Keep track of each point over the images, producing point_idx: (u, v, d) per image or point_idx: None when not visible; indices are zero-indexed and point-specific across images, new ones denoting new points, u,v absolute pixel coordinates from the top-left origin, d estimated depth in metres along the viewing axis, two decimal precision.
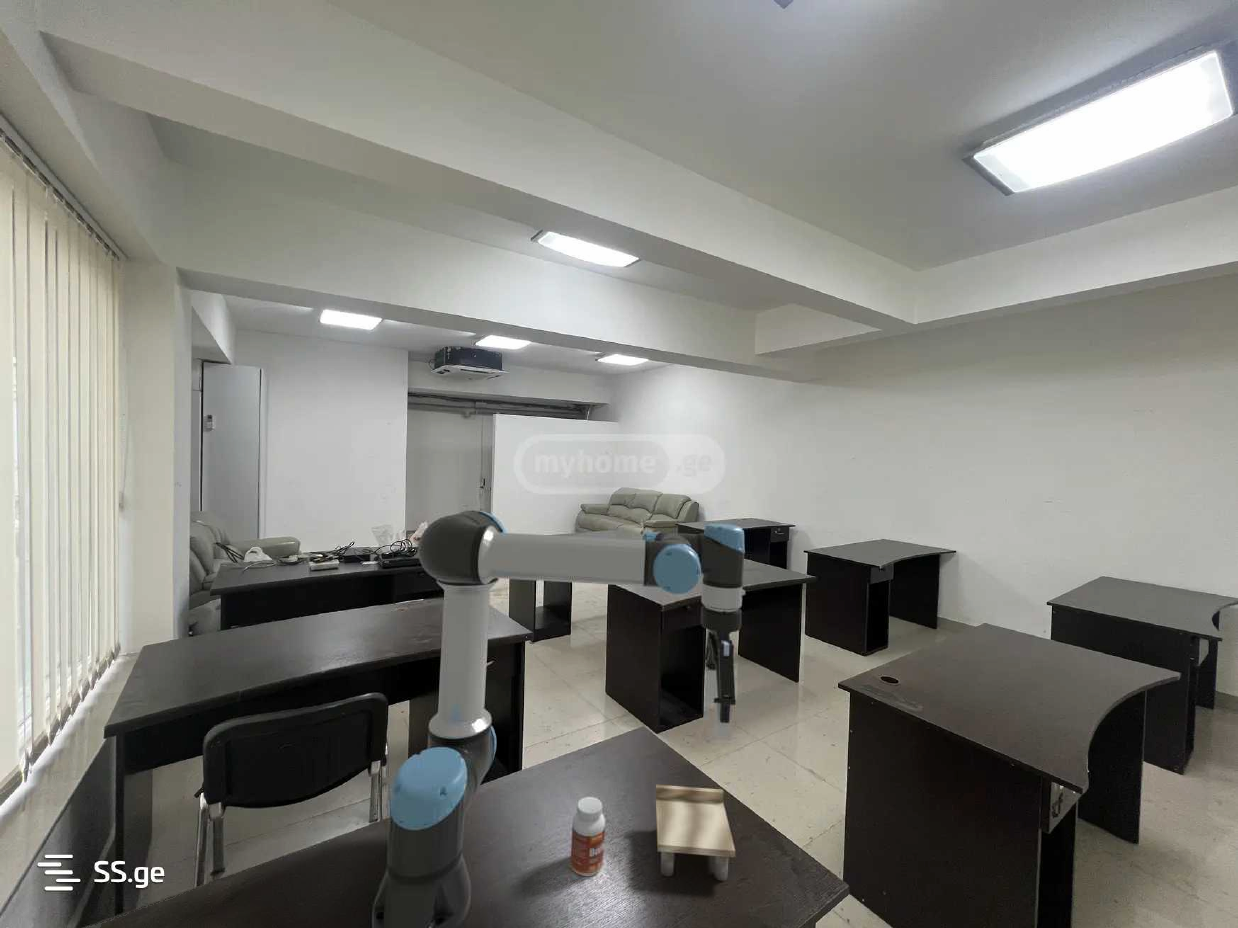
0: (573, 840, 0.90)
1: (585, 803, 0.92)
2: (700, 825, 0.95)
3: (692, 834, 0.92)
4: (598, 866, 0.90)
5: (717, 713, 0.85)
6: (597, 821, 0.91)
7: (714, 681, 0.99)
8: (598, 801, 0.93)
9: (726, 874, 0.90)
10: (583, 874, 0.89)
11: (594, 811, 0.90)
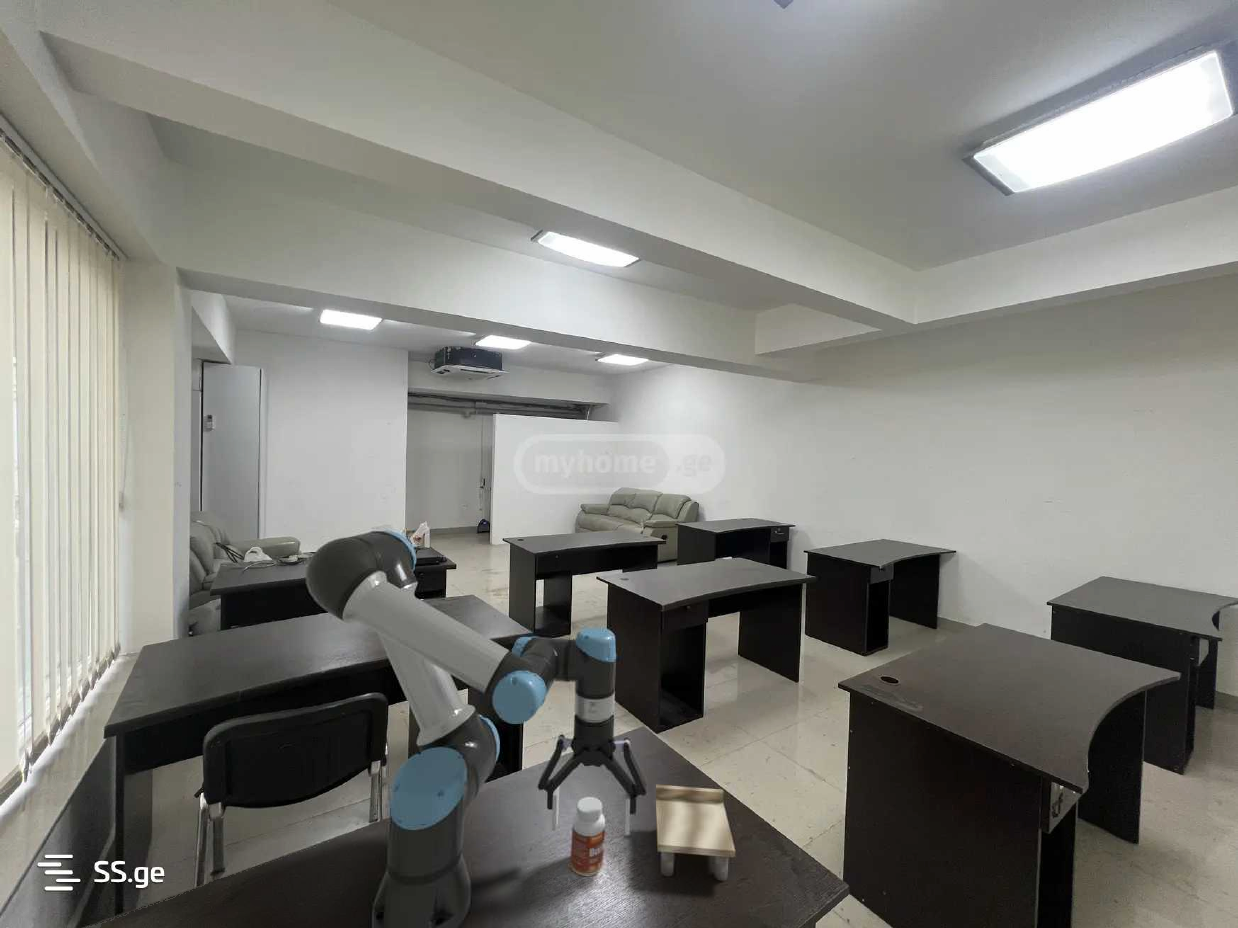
0: (573, 840, 0.90)
1: (585, 803, 0.92)
2: (700, 825, 0.95)
3: (692, 834, 0.92)
4: (598, 866, 0.90)
5: None
6: (597, 821, 0.91)
7: None
8: (598, 801, 0.93)
9: (726, 874, 0.90)
10: (583, 874, 0.89)
11: (594, 811, 0.90)
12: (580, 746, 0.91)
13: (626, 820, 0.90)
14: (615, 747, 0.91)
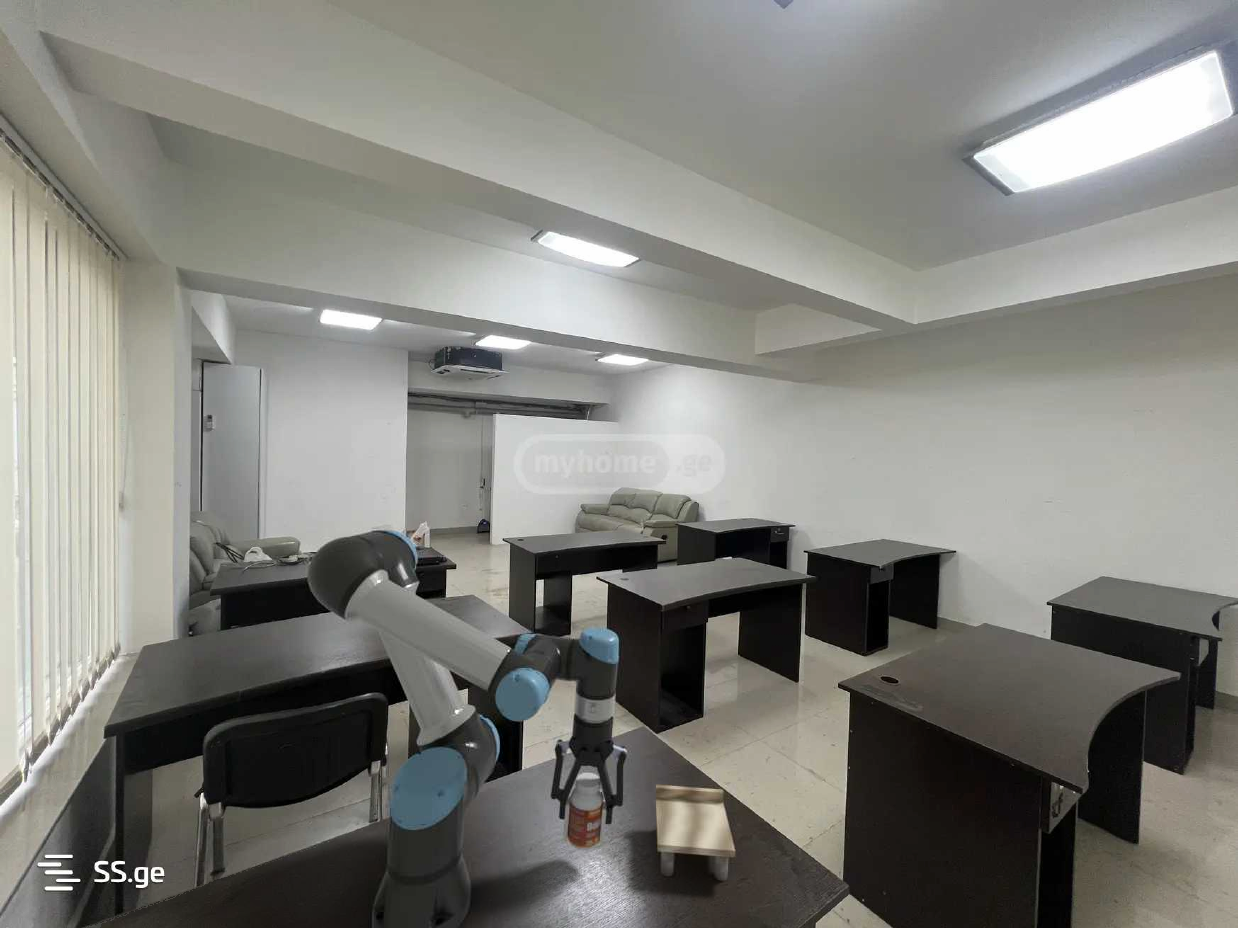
0: (571, 814, 0.90)
1: (583, 778, 0.92)
2: (700, 825, 0.95)
3: (692, 834, 0.92)
4: (596, 841, 0.90)
5: None
6: (595, 796, 0.91)
7: None
8: (597, 777, 0.93)
9: (726, 874, 0.90)
10: (580, 848, 0.89)
11: (593, 786, 0.90)
12: (578, 744, 0.91)
13: (601, 830, 0.90)
14: (612, 751, 0.91)
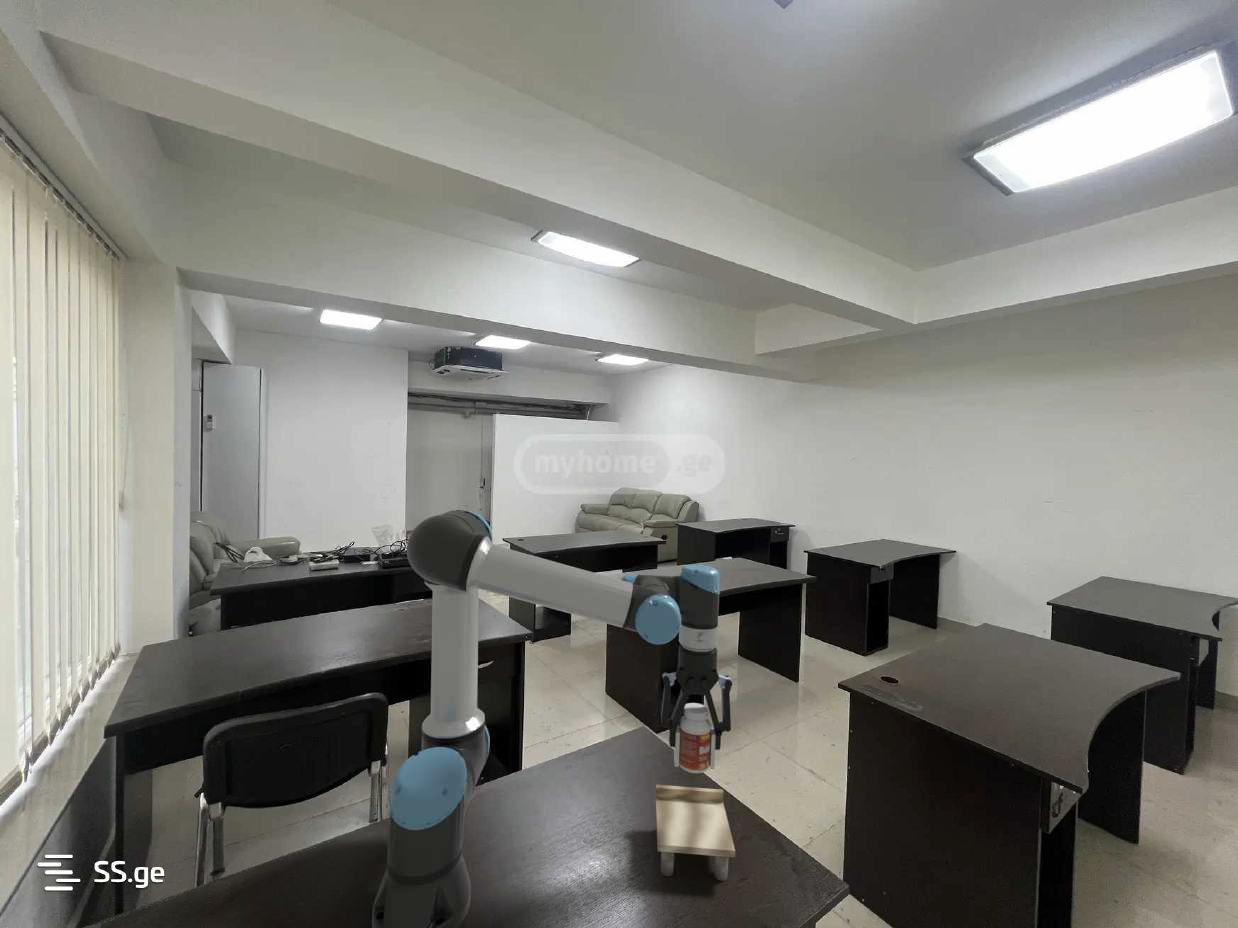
0: (682, 740, 0.95)
1: (691, 707, 0.96)
2: (700, 825, 0.95)
3: (692, 834, 0.92)
4: (707, 764, 0.94)
5: None
6: (704, 722, 0.95)
7: (710, 743, 0.96)
8: (702, 706, 0.97)
9: (726, 874, 0.90)
10: (694, 771, 0.93)
11: (702, 712, 0.94)
12: (685, 674, 0.95)
13: (711, 755, 0.94)
14: (718, 679, 0.95)
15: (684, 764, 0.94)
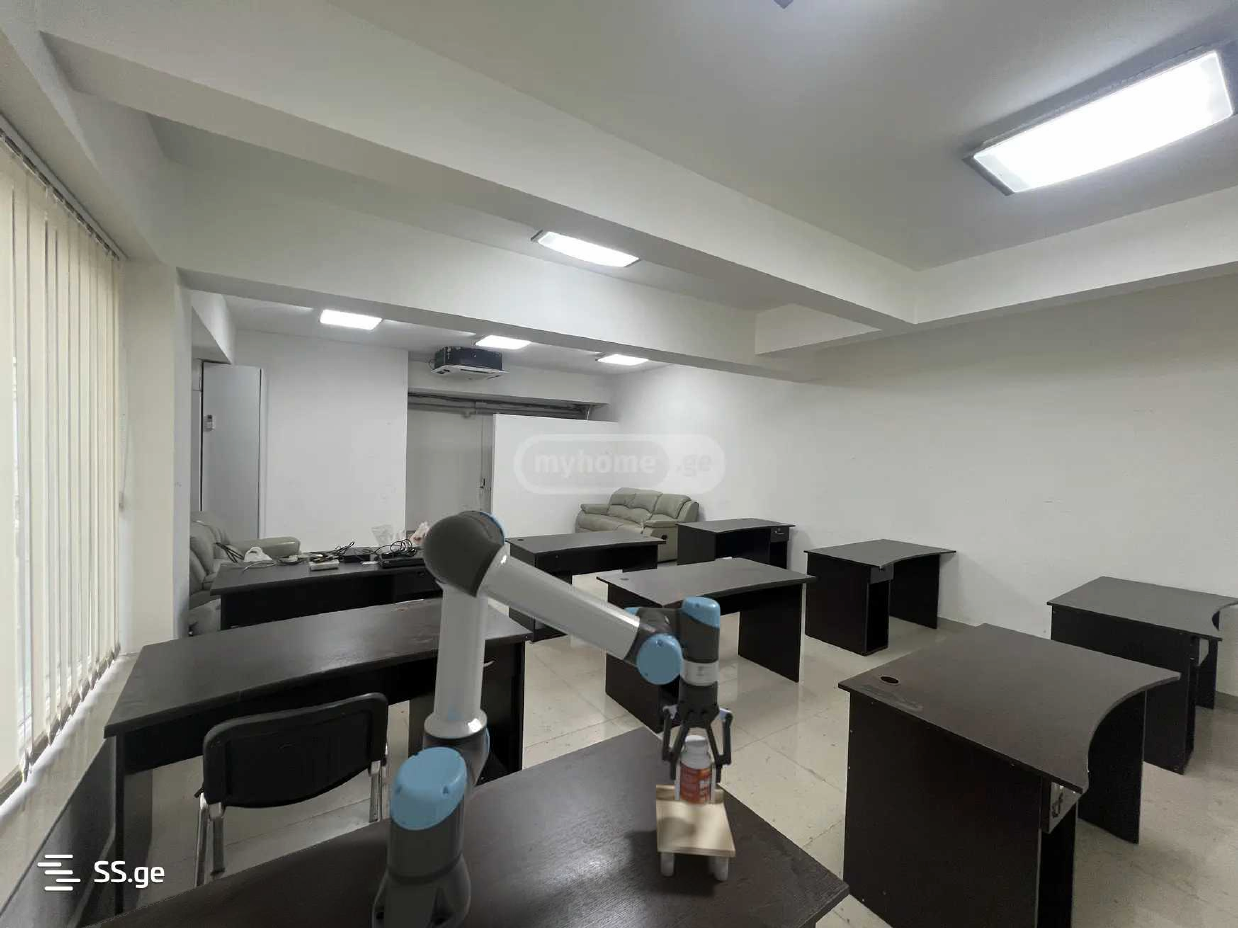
0: (682, 774, 0.95)
1: (691, 740, 0.96)
2: (700, 825, 0.95)
3: (692, 834, 0.92)
4: (708, 798, 0.94)
5: None
6: (705, 755, 0.95)
7: (711, 776, 0.96)
8: (703, 738, 0.97)
9: (726, 874, 0.90)
10: (694, 805, 0.93)
11: (702, 746, 0.94)
12: (685, 707, 0.95)
13: (712, 788, 0.95)
14: (719, 712, 0.95)
15: (685, 798, 0.94)
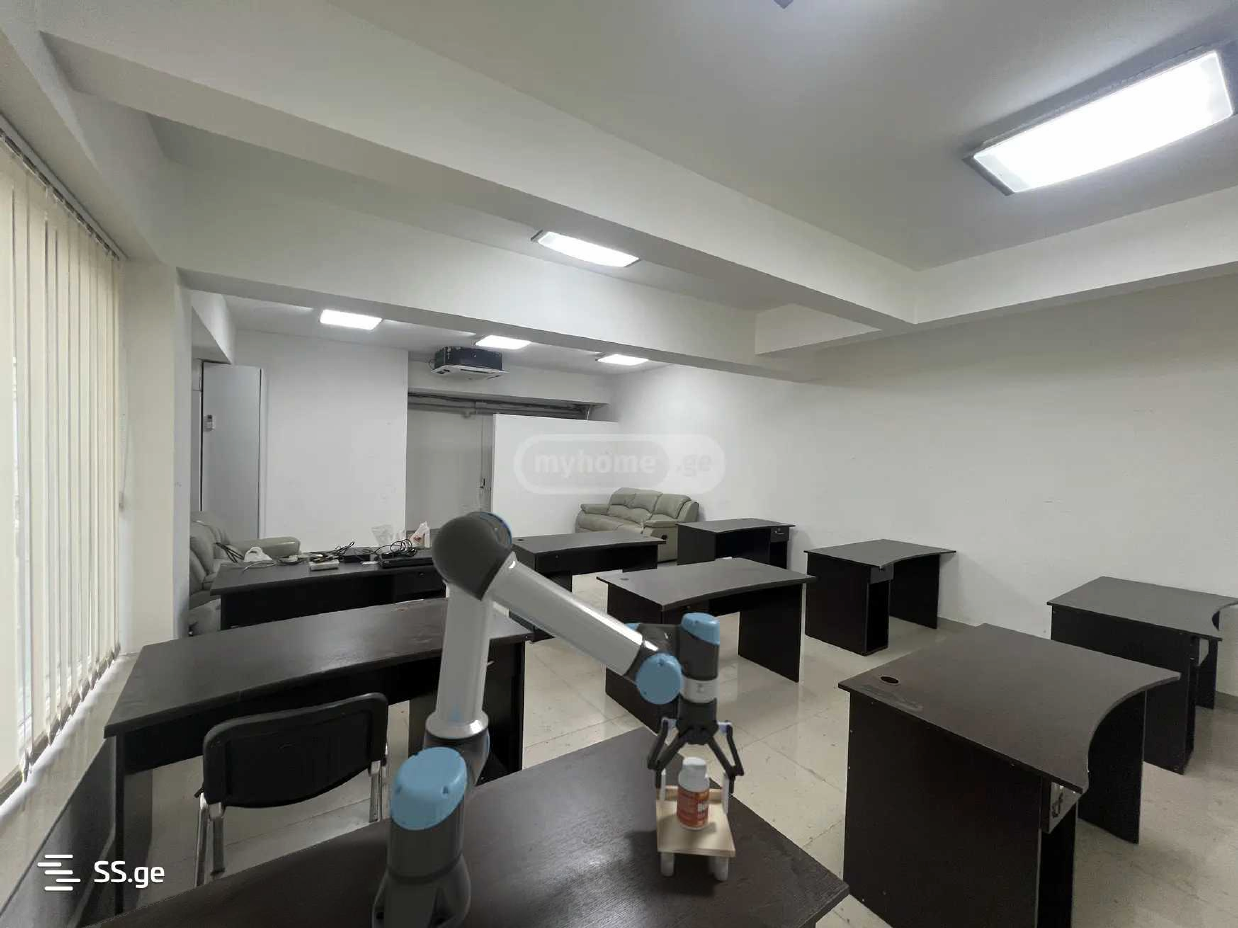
0: (680, 796, 0.95)
1: (690, 762, 0.96)
2: None
3: (692, 834, 0.92)
4: (705, 821, 0.94)
5: None
6: (703, 778, 0.95)
7: (723, 787, 0.95)
8: (701, 760, 0.97)
9: (726, 874, 0.90)
10: (692, 828, 0.93)
11: (701, 769, 0.94)
12: (685, 725, 0.95)
13: (725, 799, 0.94)
14: (718, 728, 0.95)
15: (682, 820, 0.94)
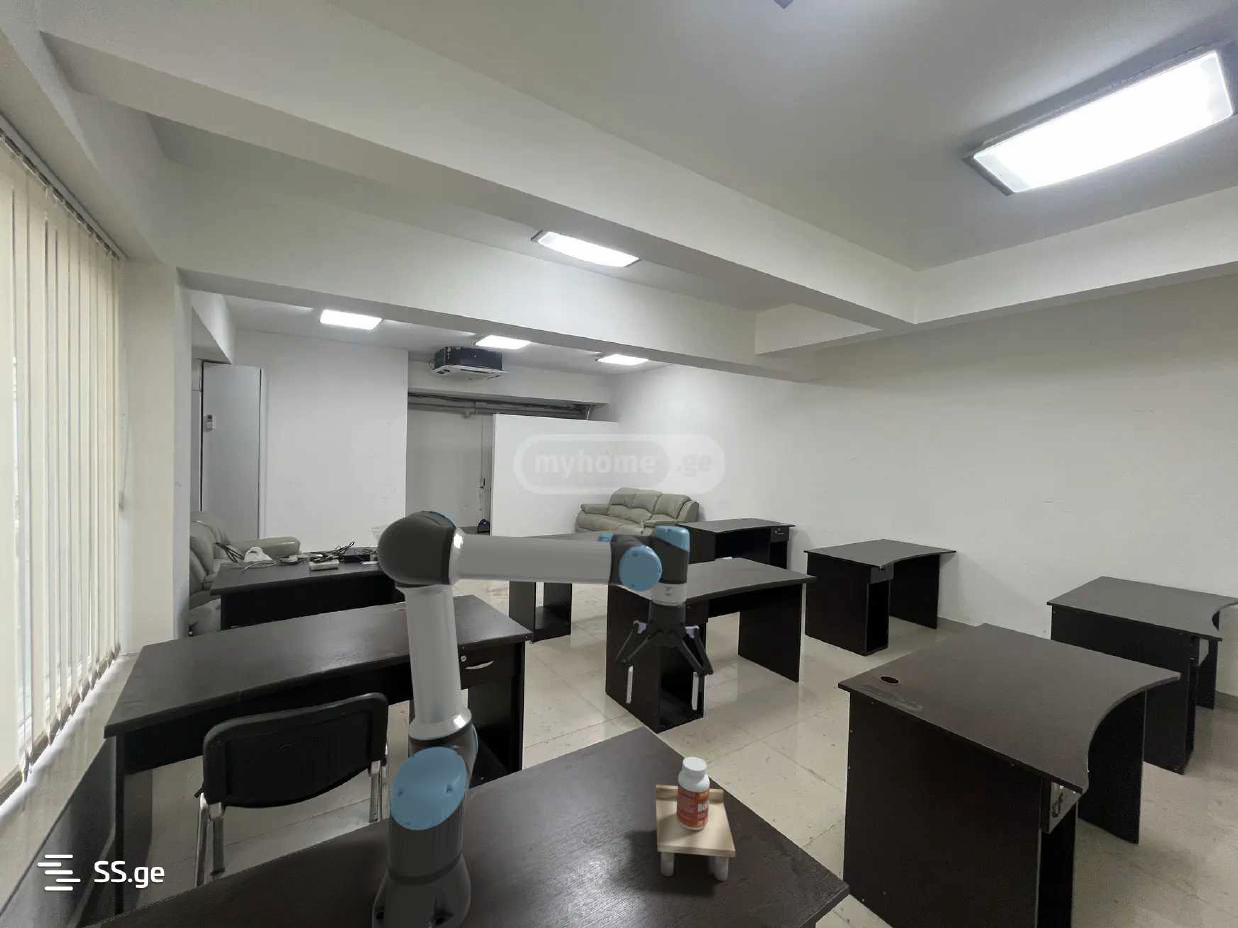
0: (680, 796, 0.95)
1: (690, 762, 0.96)
2: None
3: (692, 834, 0.92)
4: (705, 821, 0.94)
5: None
6: (703, 778, 0.95)
7: (693, 686, 1.01)
8: (701, 760, 0.97)
9: (726, 874, 0.90)
10: (692, 828, 0.93)
11: (701, 769, 0.94)
12: (654, 628, 1.01)
13: (694, 696, 1.00)
14: (686, 631, 1.01)
15: (682, 820, 0.94)
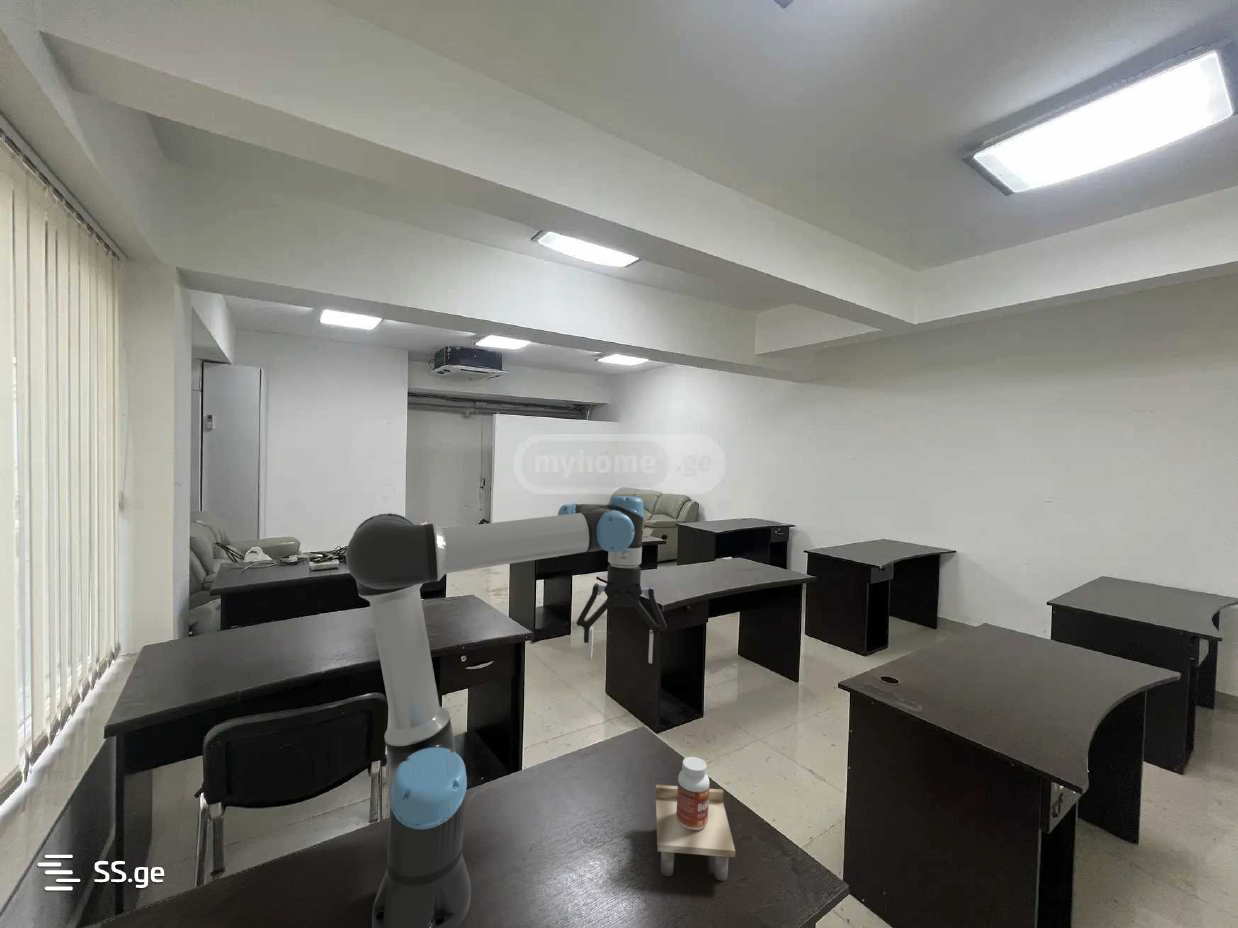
0: (680, 796, 0.95)
1: (690, 762, 0.96)
2: None
3: (692, 834, 0.92)
4: (705, 821, 0.94)
5: None
6: (703, 778, 0.95)
7: (649, 642, 1.09)
8: (701, 760, 0.97)
9: (726, 874, 0.90)
10: (692, 828, 0.93)
11: (701, 768, 0.94)
12: (612, 590, 1.09)
13: (650, 651, 1.08)
14: (641, 592, 1.09)
15: (682, 820, 0.94)
